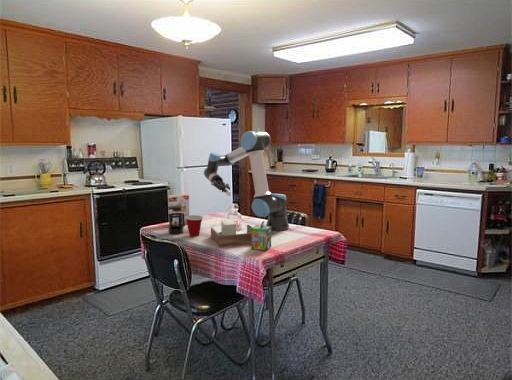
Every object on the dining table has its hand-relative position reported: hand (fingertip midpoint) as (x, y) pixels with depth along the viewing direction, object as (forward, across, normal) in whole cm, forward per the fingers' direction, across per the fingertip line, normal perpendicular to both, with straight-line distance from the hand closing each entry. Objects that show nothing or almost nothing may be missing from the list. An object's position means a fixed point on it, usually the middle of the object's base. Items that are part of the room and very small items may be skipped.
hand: (229, 193), depth 232 cm
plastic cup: (+6, +17, -29) cm, 34 cm away
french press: (-7, +23, -35) cm, 42 cm away
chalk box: (+47, -3, -11) cm, 48 cm away
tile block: (+13, -2, -22) cm, 26 cm away
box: (+26, +2, -19) cm, 32 cm away
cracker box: (-27, +14, -39) cm, 49 cm away
